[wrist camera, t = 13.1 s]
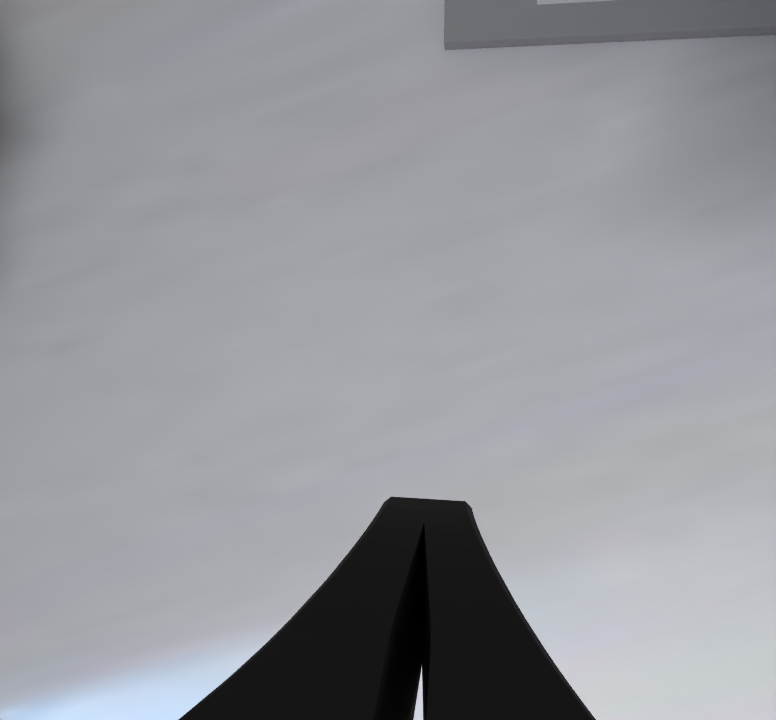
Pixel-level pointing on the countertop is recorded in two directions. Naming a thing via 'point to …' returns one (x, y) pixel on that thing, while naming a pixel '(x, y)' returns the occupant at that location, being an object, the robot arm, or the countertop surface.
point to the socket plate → (600, 21)
